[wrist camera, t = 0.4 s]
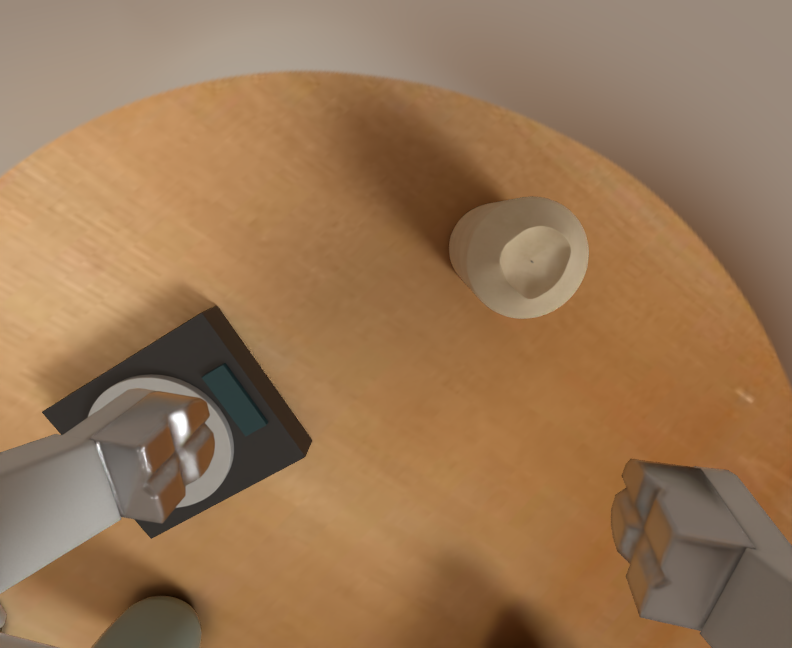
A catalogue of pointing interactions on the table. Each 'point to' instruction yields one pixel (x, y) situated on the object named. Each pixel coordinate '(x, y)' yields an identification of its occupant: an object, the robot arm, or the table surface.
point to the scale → (227, 402)
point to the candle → (520, 255)
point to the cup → (154, 626)
